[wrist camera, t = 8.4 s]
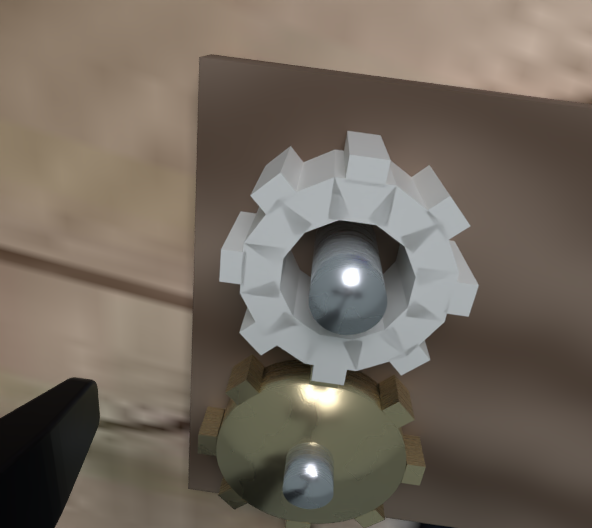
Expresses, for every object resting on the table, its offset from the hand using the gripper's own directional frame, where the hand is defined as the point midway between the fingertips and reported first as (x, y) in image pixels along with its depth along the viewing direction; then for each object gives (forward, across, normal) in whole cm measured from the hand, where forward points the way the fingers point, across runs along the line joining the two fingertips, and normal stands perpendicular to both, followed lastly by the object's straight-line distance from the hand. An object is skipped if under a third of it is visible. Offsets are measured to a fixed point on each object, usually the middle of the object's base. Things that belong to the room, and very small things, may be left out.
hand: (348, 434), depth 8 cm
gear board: (+10, -6, +4) cm, 12 cm away
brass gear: (+8, 0, +8) cm, 12 cm away
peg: (+8, 0, 0) cm, 8 cm away
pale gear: (+8, 0, 0) cm, 8 cm away
